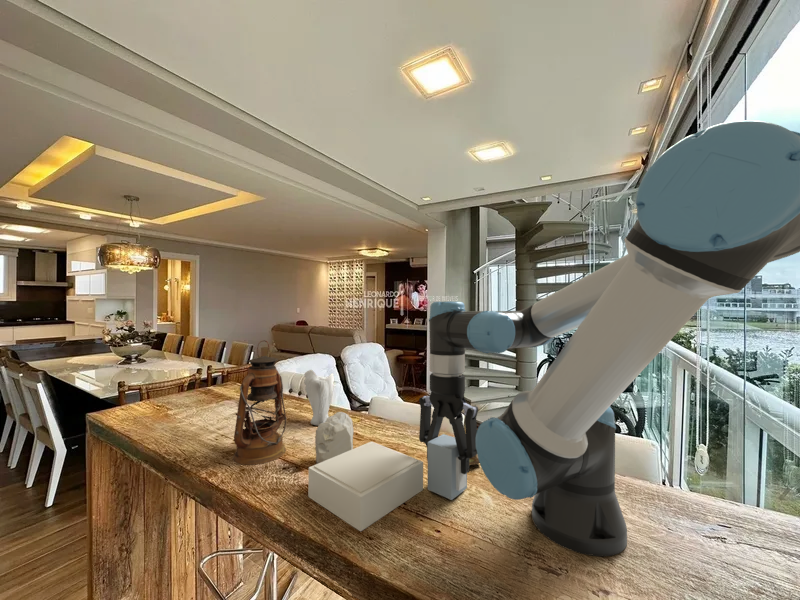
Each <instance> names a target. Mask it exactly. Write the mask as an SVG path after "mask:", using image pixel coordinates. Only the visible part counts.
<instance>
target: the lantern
mask: <svg viewBox="0 0 800 600" xmlns="http://www.w3.org/2000/svg"><path fill="white" fill-rule="evenodd" d="M262 342H265V343H267V347H268V348H267V354H266V355H263V356H260V355H259V345H260V343H262ZM256 350H257V351H256V352H257V357H256V358H251V359H248V363H250V366H249V367H247V368H248V370H247V375H246V376H245V377H244V379H243V380H242V382H241V384H240V386H239V391H240V392H239V400H238V406H237V412H236V413H235V415H236V421H235V429H234V433H233V441H234V445H235V446H236V449H235V452H234V454H233V456H232V460H233V462H235V463H236V464H239V465H244V466H245V465H246V466H256V465H263V464H266V463H267V464H268V463H270V462H273V461H276V460H277V459H280V458H281V457H283V456H284V454H285V453H286V451H287V450H286V446H285V445H284V444H283V443H284V442H283V437H284V436H283V435H284V432H285V430H286V425H287V419H288V418H287V412H286V409H285V403H284V394H283V393H284V384H283V378H282V376H281V374H280V372H279V371H278V369H277V366H276V365H275V364H276V362H277V361H278V360H279V359H278V358H276V357H274V356H273V357H272V356H271V357H270V356H268V355H269V351H270V345H269V342H268V341H267V340H260V341H259V342H258V344H257V348H256ZM249 388H250V393H249ZM270 400H274V407H275V411H274V412H272V411H270V410H268V411H267V410H266V409H261V408H258V407H254V406H257V405H258V404H260V403H264V402H267V401H270ZM247 401H249V402H250V401H251V402H254V403H253V404H251V405H249V403H248V402H247ZM256 411H260V412H266V413H269V414H271V415H273V416H267V415H261V414H260V416H261V417H262V418H263V419H256V420H255V419H254V414H257V415H259V413H257V412H256ZM253 413H254V414H253ZM250 416H251V417H250ZM251 419H252V420H251ZM283 421H284V426H283V430H282V433H280V432H277V431H278V430H279V428H280V426H281V425H282V423H283ZM244 427H245V428H244Z"/></svg>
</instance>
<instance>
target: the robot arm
mask: <svg viewBox="0 0 800 600" xmlns="http://www.w3.org/2000/svg"><path fill="white" fill-rule="evenodd" d="M639 183H640V184H639V186H638V189H637V192H636V197H635V205H636V217H637V220H636V222H635V223H634V224H633V226H632V228H631V229H630V231H629V232H628V233H627V235H626V236H625V238H624V244H625V249H626V252H627V254H626V255H624V256H622V257H620V258H618V259H616V260H614V261H612V262H611V263H608V264H606V265H605V266H603V267H600V268H599V269H597V270H594V271H593V272H591V273H589V274H587V275H586V276H584V277H581V278H580V279H577V280H575V282H572V283H569V284H568V285H567V286H565V287H563V288H561V289H559V290H557V291H555V292H554V293H552V294H549V295H547V296H545V297H543V298H541V299H540V300H538V301H536V302H535V303H533V304H530V305H529V306H527V307H525V308H523V309H520V310H474V311H473V310H471V311H470V310H469V311H467V310H466V307H465V303H464V302H463V301H433V302H432V303H431V304H430V309H429V318H428V323H429V330H428V331H429V371H430V372H431V373H430V374H429V391H430V394H429V395H424V396H422V397H420V398H419V399H418V401H419V405H420V413H419V414H420V417H419V418H420V419H419V420H420V421H419V431H418V432H419V435H418V436H419V438H418V440H419V442H420V443H424V444H425V446H426V460H427V461H428V442H429V441H431V440H433V439H435V438H437V437H439V436H440V431H441V427H442V425H443V424H442V423H443V421H444V420H443V419H444V418H446V419H448V423H449V424H450V425H451V428H452V431H453V437H455V440H456V444H457V448H458V452H459V456H458V457H456V490H458V491H460V490H461V489H462V488H464V487H465V486H466V473H467V474H468V473H469V472H470V465H469V458H472V457H474V456H475V455H477V456H478V459H479V462H480V463H479V466H480V467H481V470H482V472H483V474H484V475H485V477H486V479H487V480H488V482H489V483H490V484H491V486H493V488H494V489H495V490H496V491H497V492H499V493H500V495H502V496H506V497H507V498H508V499H511V500H514V501H515V500H523V499H527V498H530V499H531V498H532V503H531V518H532V522H533V524H534V525H535V527H536V529H537V530H538V531H539V532H540V533H542V535H544V537H546V538H547V539H549V540H550V541H551V542H553V543H555V544H557V545H559V546H560V547H563V548H565V549H567V550H569V551H572V552H575V553H578V554H582V555H588V556H592V557H593V556H594V557H611V556H615V555H618V554H620V553H622V552H623V551H624V550H625V549H626V548H627V545H628V528H627V527H628V526H627V524H626V521H625V517H624V515H623V512H622V509H621V506H620V503H619V501H618V500H619V499H618V497H617V494H616V488H615V487H616V485H615V483H616V479H615V478H616V460H615V459H616V430H617V425H616V423H615V412H614V410H613V409H612V407H611V405H612V404H613V403H614V402H615V401H616V400H617V399H618V398H619V397H620V396H621V394H622V393H623V392H624V391H626V389H627V388H628V387H629V386H630V385H631V384H632V383H633V381H635V379H636V378H637V377H638V376H639V375H640V374H641V373H642V372H643V371H644V370H645V369H646V368H647V367H648V365H649V364H650V363H651V362H652V361H653V360H654V359H655V358H656V357H657V356H658V354H660V353H661V351H662V350H663V349H665V347H666V346H667V344H669V342H671V340H672V339H673V338H674V337H675V335H677V333H679V332H680V330H682V328H683V327H684V326H685V325H686V324H687V323H688V322H689V321H690V320H691V318H692V317H694V315H695V314H696V313H697V312H698V311H699V310H700V309H701V307H702V306H703V305H705V303H706V302H707V301H708V300H709V299H711V298H713V297H718V296H727V295H731V294H733V295H734V294H738V293H740V292H741V291H742V290H743V289H744V288H745V287H746V286H748V284H749V283H750V282H751V280H753V279H754V277H756V276H757V275H758V274H759V272H760V271H762V270H763V268H765V266H767V264H769V263H771V262H774V261H779V260H781V259H785V258H787V257H790V256H792V255H796V254H798V253H800V132H797V131H793V130H790V129H788V128H786V127H784V126H782V125H779V124H777V123H772V122H768V121H762V120H752V119H751V120H736V121H729V122H723V123H719V124H715V125H712V126H709V127H707V128H704V129H702V130H700V131H698V132H696V133H693V134H690V135H688V136H685V137H684V138H682V139H681V140H679V141H677V142H676V143H674V145H672V146H670V147H669V148H668V149H666V150H665V151H664V152H663V153H662V154H661V155H660V156H659V157H657V159H656V160H655V161H654V162H653V163H652V164H651V165H650V167H649V168H648V170H647V171H646V173H644V176H643V178H642V179H641V181H640V182H639ZM575 329H576V330H575ZM573 330H575V331H574V333H573V334H572V335H571V337H570V338H569V340H568V341H567V342H566V344H565V345H564V347H563V348H562V349H561V350H560V352H559V353H558V355H557V356H556V358H555V359H554V360H553V362H552V363H551V365H549V366H548V369H547V370H546V371H545V373H544V374H543V375H542V376H541V378H540V379H539V381H538V382H537V383H536V385H535V386H534V388H533V389H532V390H523V391H520V392H519V393H517V394H516V395H515V396H514V397H513V399H512V400H511V402H510V403H509V404H508V406H507V407H506V408H505V410H504V411H503V413H502V414H501V415H500V416H497V417H490V418H488V419H486V420H484V421H483V422H481V423H480V424H479V426H478V427H477V416H478V412H479V407H478V406H477V405H474V406H473V405H471V404H469V403H467V401H466V398H465V391H466V376H465V374H464V372H465V371H466V369H465V368H466V362H465V361H466V349H467V350H471V351H472V350H473V351H477V352H482V353H483V354H484V353H485V354H501V353H505V352H506V351H507V350H509V349H518V348H537V347H541V346H544V345H548V344H549V343H551V342H552V341H553V340H554V338H555V337H557V336H560V335H563V334H565V333H567V332H571V331H573ZM432 407H433V410H432ZM463 411H464V412H463ZM462 412H463V413H462ZM463 415H464V416H465V418H464V417H463ZM463 421H464V422H463Z"/></svg>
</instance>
